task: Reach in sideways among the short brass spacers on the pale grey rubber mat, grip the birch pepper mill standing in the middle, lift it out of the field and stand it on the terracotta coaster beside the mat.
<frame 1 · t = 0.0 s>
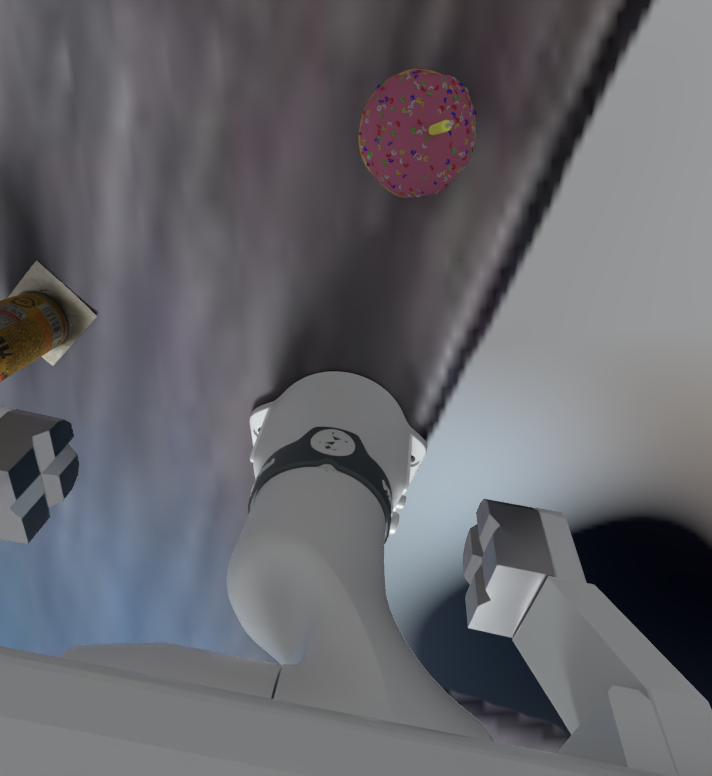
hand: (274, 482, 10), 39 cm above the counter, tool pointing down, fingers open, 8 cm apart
condiment: (47, 314, 53), on the counter
cupcake: (416, 135, 42), on the counter
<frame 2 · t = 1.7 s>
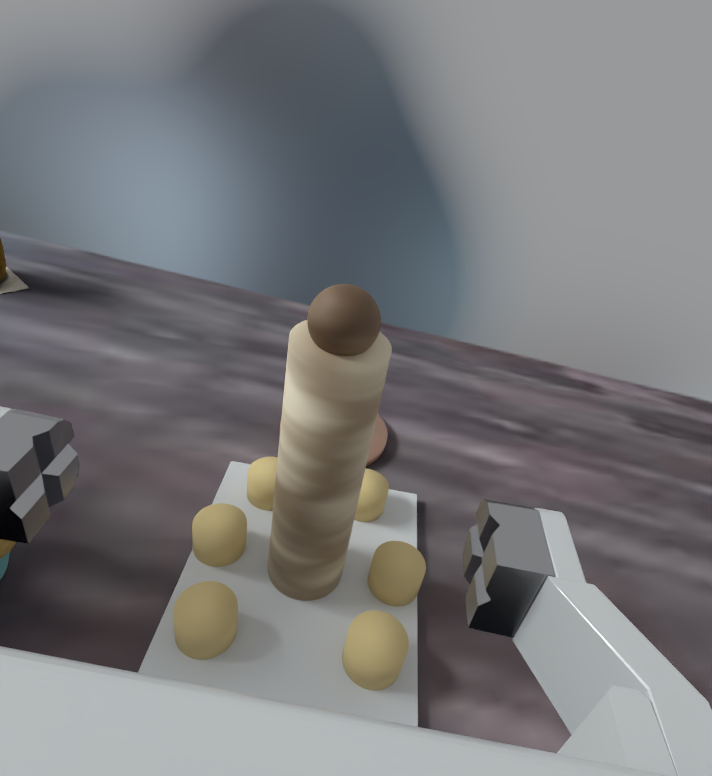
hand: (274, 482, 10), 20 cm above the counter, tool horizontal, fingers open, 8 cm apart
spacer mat: (304, 573, 33), on the counter
coaster: (333, 433, 44), on the counter
pepper mill: (305, 567, 32), point 1 cm above the counter, touching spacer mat
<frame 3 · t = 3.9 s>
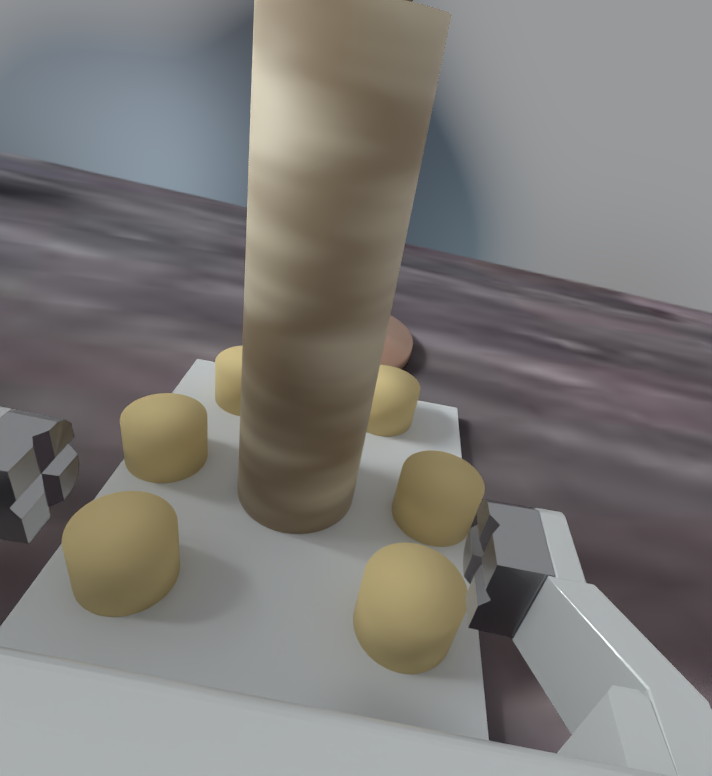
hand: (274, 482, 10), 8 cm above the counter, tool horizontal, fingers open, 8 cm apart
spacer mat: (294, 499, 21), on the counter
coaster: (340, 341, 33), on the counter
pepper mill: (296, 488, 21), point 1 cm above the counter, touching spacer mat
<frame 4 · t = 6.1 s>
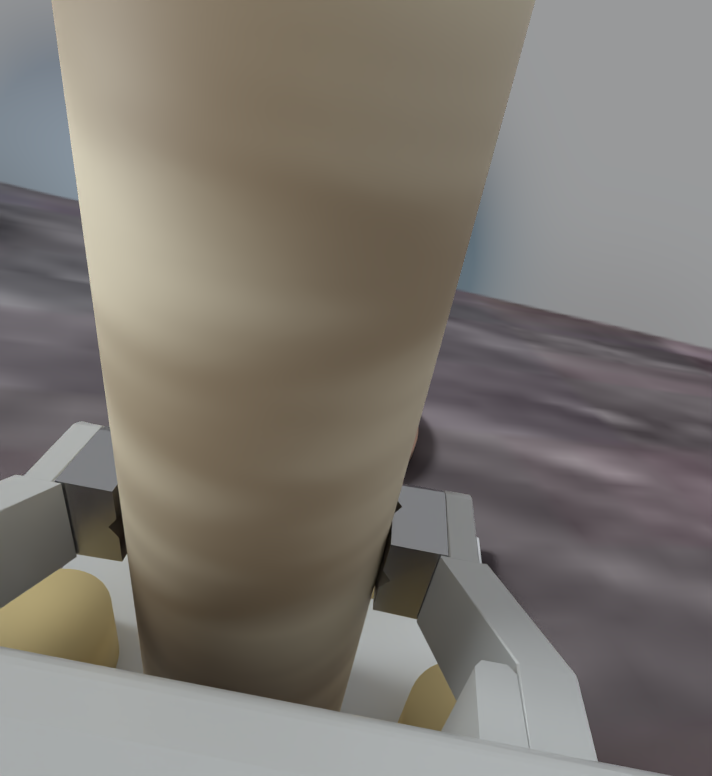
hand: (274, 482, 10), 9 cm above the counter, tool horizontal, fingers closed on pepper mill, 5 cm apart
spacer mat: (245, 732, 14), on the counter
pepper mill: (246, 721, 14), point 1 cm above the counter, touching gripper, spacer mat
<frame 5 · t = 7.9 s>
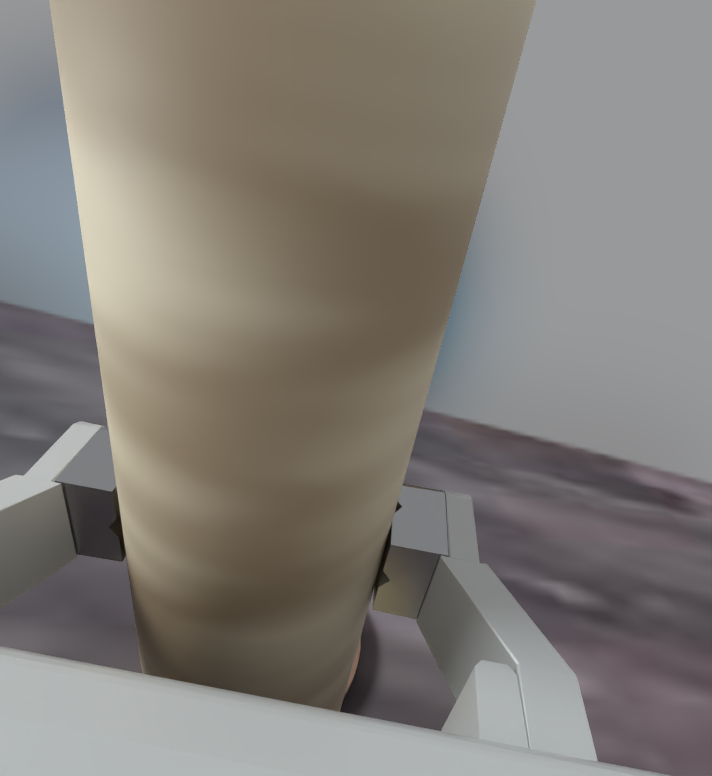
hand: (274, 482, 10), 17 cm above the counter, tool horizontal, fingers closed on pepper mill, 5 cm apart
pepper mill: (246, 722, 14), point 9 cm above the counter, touching gripper
when the fingers open (10 cm above the counter, at t = 10.1 s): pepper mill drops 1 cm, resting on coaster.
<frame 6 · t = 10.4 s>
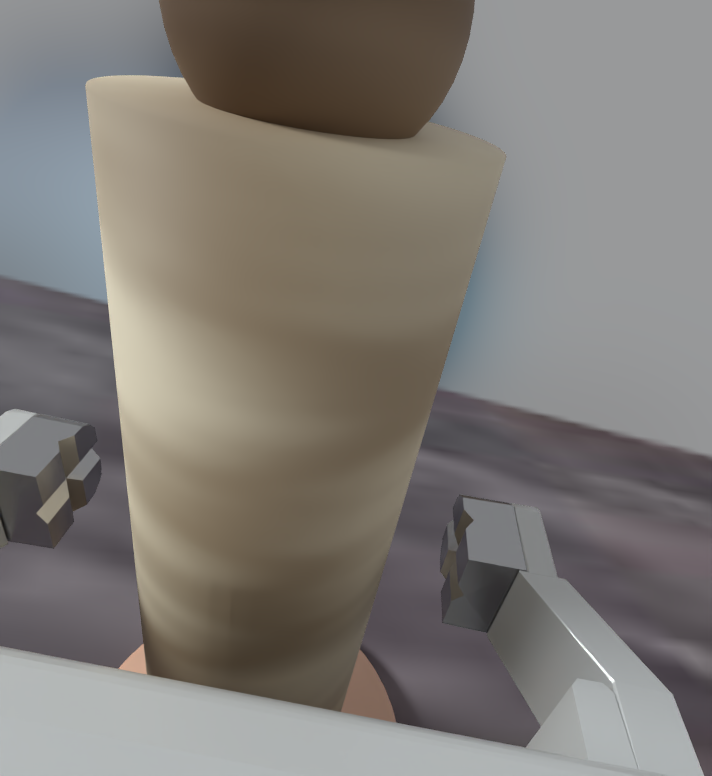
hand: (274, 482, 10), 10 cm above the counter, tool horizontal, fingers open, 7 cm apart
coaster: (243, 756, 15), on the counter
pepper mill: (244, 745, 15), point 1 cm above the counter, touching coaster
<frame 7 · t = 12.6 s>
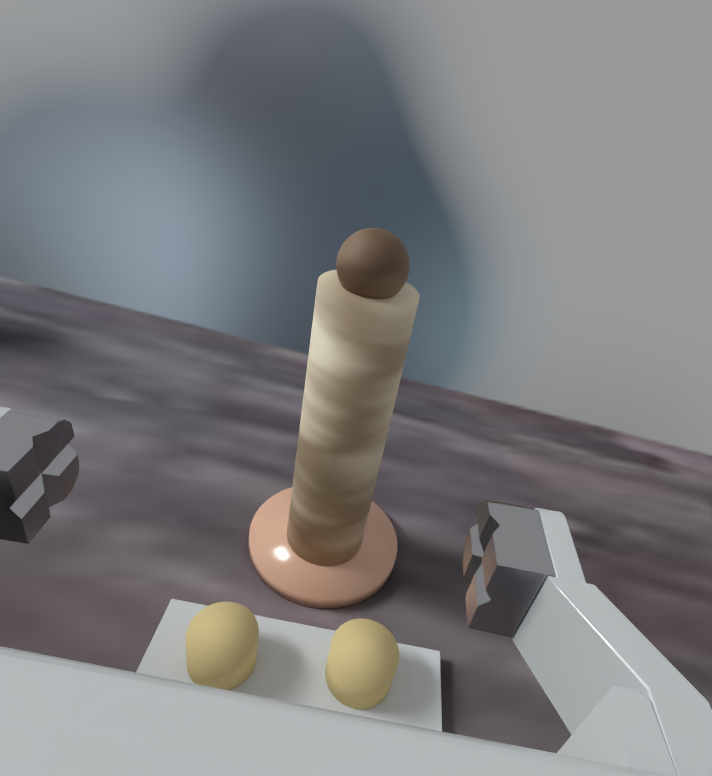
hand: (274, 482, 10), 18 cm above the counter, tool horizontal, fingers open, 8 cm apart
coaster: (323, 543, 32), on the counter
pepper mill: (324, 535, 32), point 1 cm above the counter, touching coaster
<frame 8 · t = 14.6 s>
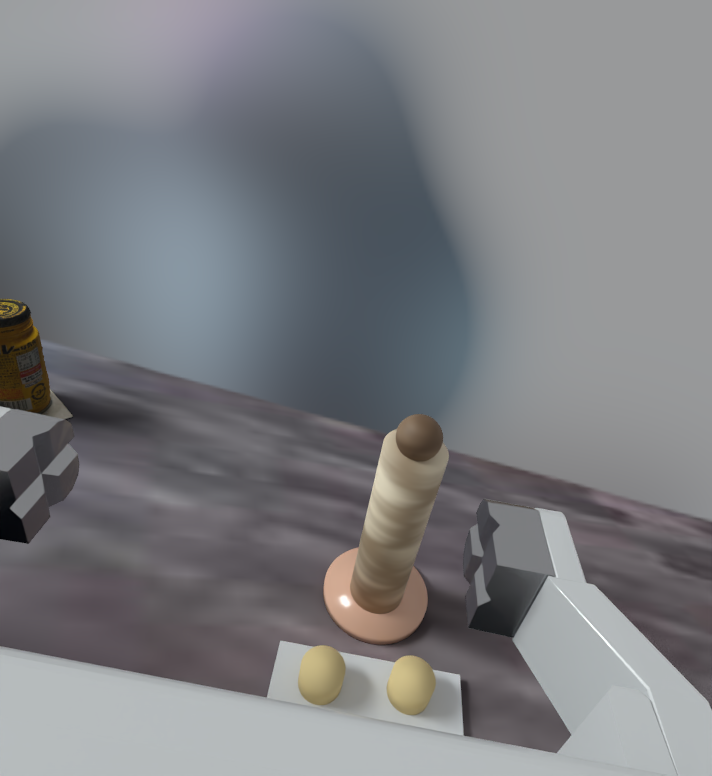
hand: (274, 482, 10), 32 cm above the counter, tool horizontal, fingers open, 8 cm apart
condiment: (23, 410, 58), on the counter
coaster: (374, 594, 45), on the counter
pepper mill: (376, 589, 45), point 1 cm above the counter, touching coaster
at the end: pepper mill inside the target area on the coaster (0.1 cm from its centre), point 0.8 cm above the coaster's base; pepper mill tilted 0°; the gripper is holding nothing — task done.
